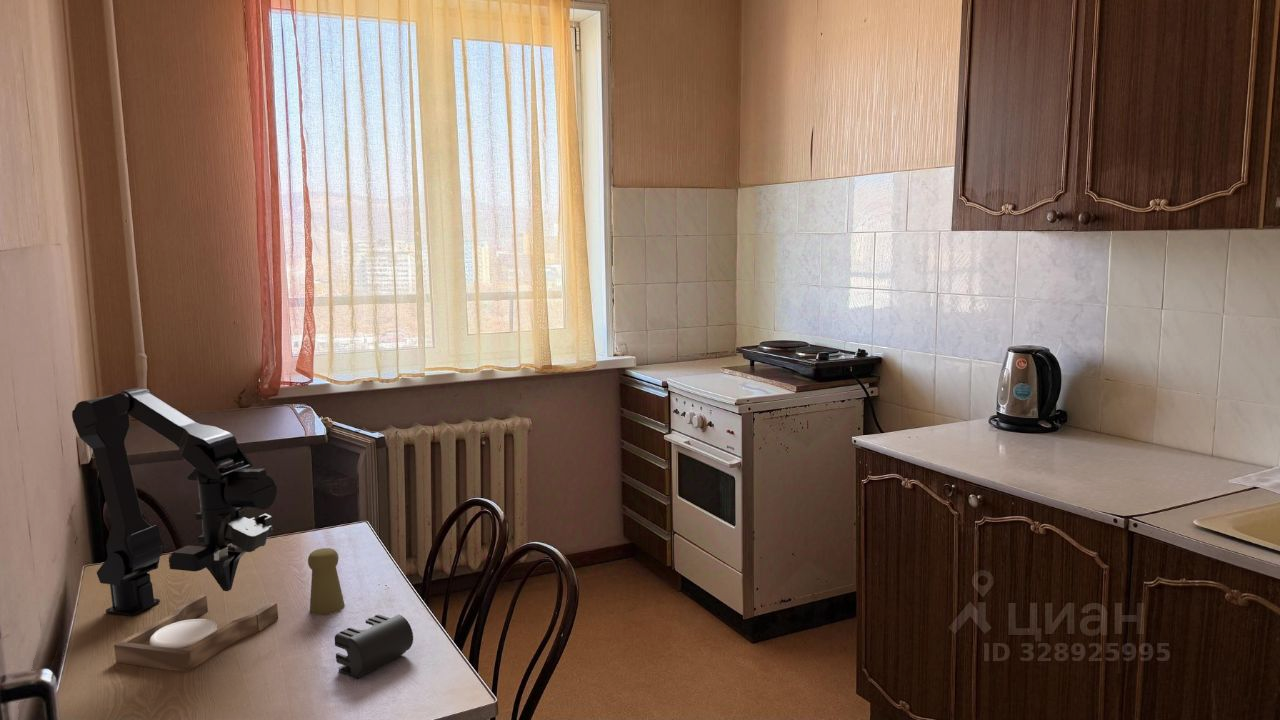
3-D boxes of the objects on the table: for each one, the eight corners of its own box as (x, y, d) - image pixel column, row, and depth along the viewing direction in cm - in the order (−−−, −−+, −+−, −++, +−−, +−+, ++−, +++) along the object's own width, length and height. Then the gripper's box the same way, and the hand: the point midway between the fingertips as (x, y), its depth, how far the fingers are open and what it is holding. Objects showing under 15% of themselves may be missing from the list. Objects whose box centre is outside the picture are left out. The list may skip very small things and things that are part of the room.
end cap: (364, 685, 134) (361, 642, 133) (334, 673, 138) (331, 632, 137) (415, 658, 142) (412, 618, 141) (385, 647, 146) (382, 608, 145)
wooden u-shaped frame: (202, 610, 163) (201, 594, 162) (278, 619, 158) (276, 602, 157) (109, 661, 144) (107, 644, 143) (192, 673, 139) (191, 655, 138)
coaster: (164, 640, 151) (161, 620, 151) (226, 634, 153) (224, 614, 152) (141, 668, 141) (139, 647, 141) (208, 661, 143) (206, 640, 143)
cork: (333, 616, 158) (328, 557, 157) (302, 614, 160) (297, 555, 158) (351, 602, 164) (346, 545, 163) (321, 600, 165) (316, 543, 164)
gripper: (217, 525, 143) (226, 617, 146) (293, 492, 161) (300, 574, 163) (161, 520, 147) (171, 610, 149) (241, 488, 164) (249, 569, 167)
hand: (227, 590), depth 157 cm, fingers closed
